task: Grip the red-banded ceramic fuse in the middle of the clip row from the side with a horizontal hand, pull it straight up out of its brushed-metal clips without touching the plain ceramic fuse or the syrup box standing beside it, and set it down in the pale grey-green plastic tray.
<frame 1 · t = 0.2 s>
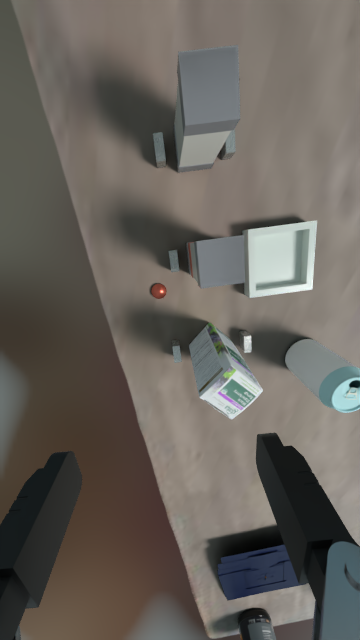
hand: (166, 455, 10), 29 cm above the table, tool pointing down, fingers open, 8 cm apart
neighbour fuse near: (192, 150, 30), on the table
supplement container: (252, 614, 71), on the table
tray: (274, 259, 36), on the table
clip bank: (202, 256, 35), on the table
can: (301, 354, 42), on the table
marked fuse: (202, 256, 35), on the table
dark blue book: (260, 560, 63), on the table
syrup box: (209, 342, 40), on the table
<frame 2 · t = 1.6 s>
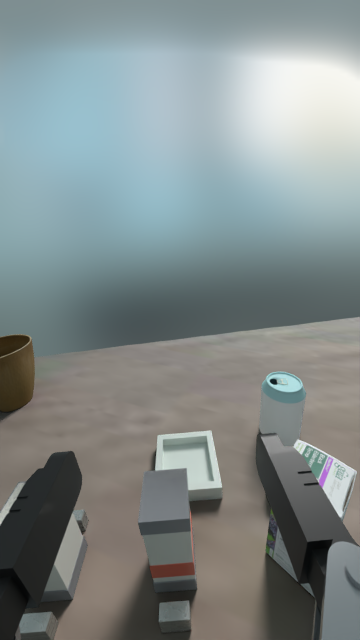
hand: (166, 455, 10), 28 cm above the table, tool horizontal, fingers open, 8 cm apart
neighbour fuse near: (61, 571, 27), on the table
tray: (186, 468, 38), on the table
clip bank: (176, 562, 27), on the table
can: (278, 433, 43), on the table
marked fuse: (176, 562, 27), on the table
plant pot: (17, 402, 58), on the table
syrup box: (298, 553, 27), on the table
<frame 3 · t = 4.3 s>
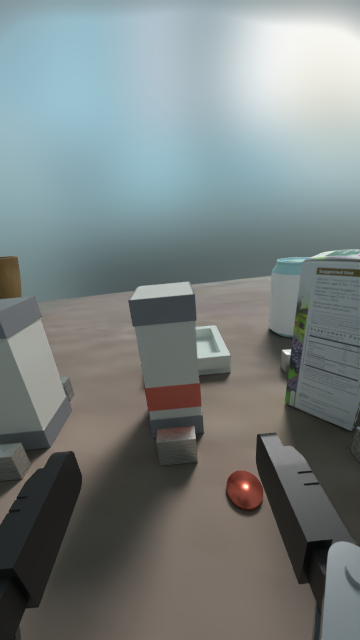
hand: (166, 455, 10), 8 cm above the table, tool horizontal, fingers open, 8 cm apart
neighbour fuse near: (39, 429, 23), on the table
tray: (188, 356, 33), on the table
clip bank: (177, 415, 23), on the table
can: (290, 331, 39), on the table
marked fuse: (177, 415, 23), on the table
plant pot: (3, 328, 53), on the table
syrup box: (324, 403, 23), on the table
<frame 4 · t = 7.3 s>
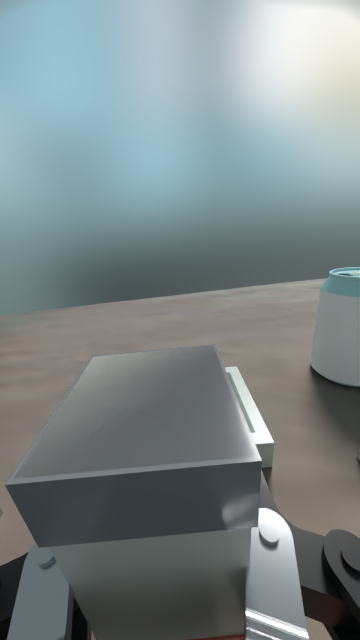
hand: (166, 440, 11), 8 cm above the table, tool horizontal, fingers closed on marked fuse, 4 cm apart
tray: (198, 421, 22), on the table
can: (343, 373, 27), on the table
marked fuse: (183, 609, 11), on the table, touching gripper
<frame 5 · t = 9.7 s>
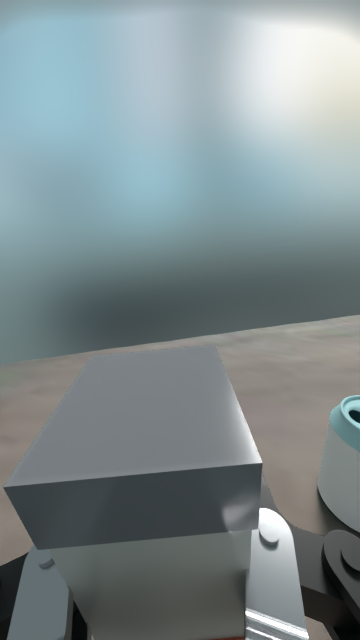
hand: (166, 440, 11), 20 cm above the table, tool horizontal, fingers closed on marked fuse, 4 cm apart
can: (353, 501, 25), on the table
marked fuse: (183, 610, 11), point 12 cm above the table, touching gripper
when the fingers open (10 cm above the table, at t = 12.4 s): marked fuse drops 1 cm, resting on tray.
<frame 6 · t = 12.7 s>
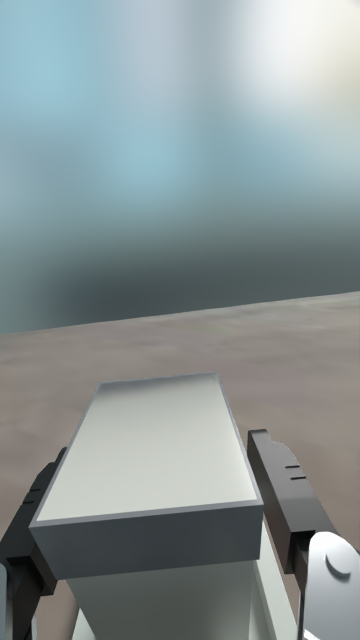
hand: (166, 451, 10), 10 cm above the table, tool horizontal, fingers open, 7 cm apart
tray: (186, 628, 12), on the table
marked fuse: (186, 621, 11), point 1 cm above the table, touching tray
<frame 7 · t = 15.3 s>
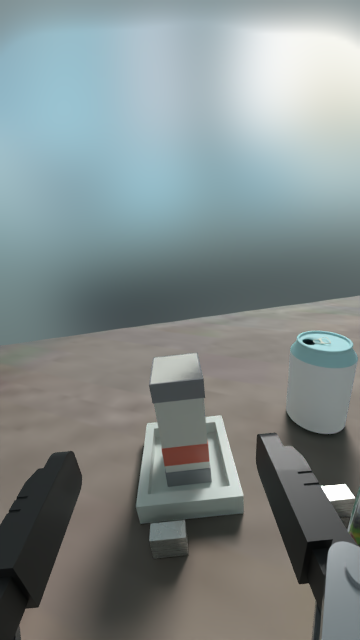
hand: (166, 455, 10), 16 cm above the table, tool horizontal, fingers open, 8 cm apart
tray: (188, 468, 26), on the table
clip bank: (170, 632, 15), on the table
can: (313, 418, 31), on the table
marked fuse: (188, 463, 26), point 1 cm above the table, touching tray
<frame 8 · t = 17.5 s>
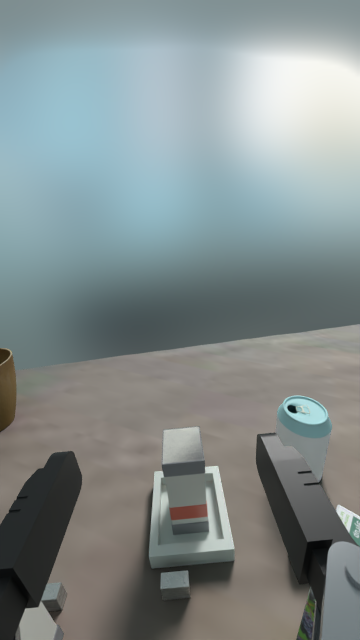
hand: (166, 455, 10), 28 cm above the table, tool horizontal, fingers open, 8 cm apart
tray: (189, 515, 31), on the table
can: (296, 467, 37), on the table
marked fuse: (189, 512, 31), point 1 cm above the table, touching tray
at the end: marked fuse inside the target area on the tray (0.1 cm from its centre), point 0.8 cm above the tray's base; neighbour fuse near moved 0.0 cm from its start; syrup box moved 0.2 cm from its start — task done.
